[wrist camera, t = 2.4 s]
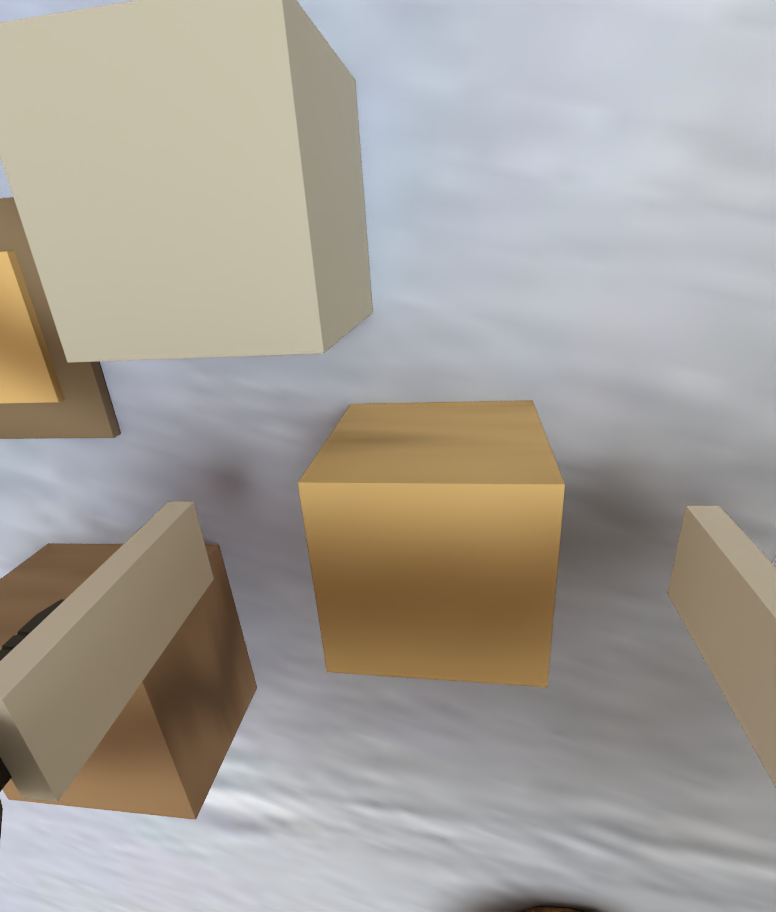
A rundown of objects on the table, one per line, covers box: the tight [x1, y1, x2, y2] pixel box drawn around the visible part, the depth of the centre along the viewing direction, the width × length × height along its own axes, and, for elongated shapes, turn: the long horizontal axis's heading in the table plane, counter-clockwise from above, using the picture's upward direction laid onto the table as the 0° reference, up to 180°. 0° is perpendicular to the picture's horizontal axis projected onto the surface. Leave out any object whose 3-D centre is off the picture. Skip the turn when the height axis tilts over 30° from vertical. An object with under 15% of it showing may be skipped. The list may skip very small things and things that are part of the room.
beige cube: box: [0, 0, 373, 362], centre depth 12 cm, size 6×6×6 cm
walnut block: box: [0, 544, 257, 819], centre depth 20 cm, size 8×8×6 cm
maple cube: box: [298, 401, 565, 687], centre depth 15 cm, size 6×6×6 cm
